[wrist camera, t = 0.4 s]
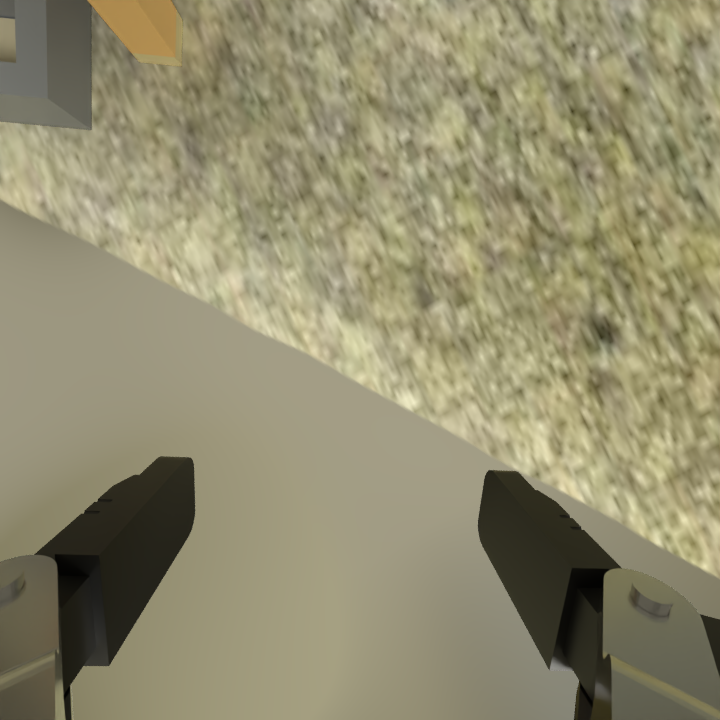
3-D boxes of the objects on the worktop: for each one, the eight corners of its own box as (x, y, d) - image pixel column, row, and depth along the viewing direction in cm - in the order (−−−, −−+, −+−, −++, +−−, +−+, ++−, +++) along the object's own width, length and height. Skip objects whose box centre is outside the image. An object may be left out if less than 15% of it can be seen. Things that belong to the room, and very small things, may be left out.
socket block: (-30, -8, 33) (-97, -65, 28) (91, 5, 33) (45, -50, 28) (-25, 119, 34) (-89, 85, 29) (91, 129, 35) (47, 98, 30)
